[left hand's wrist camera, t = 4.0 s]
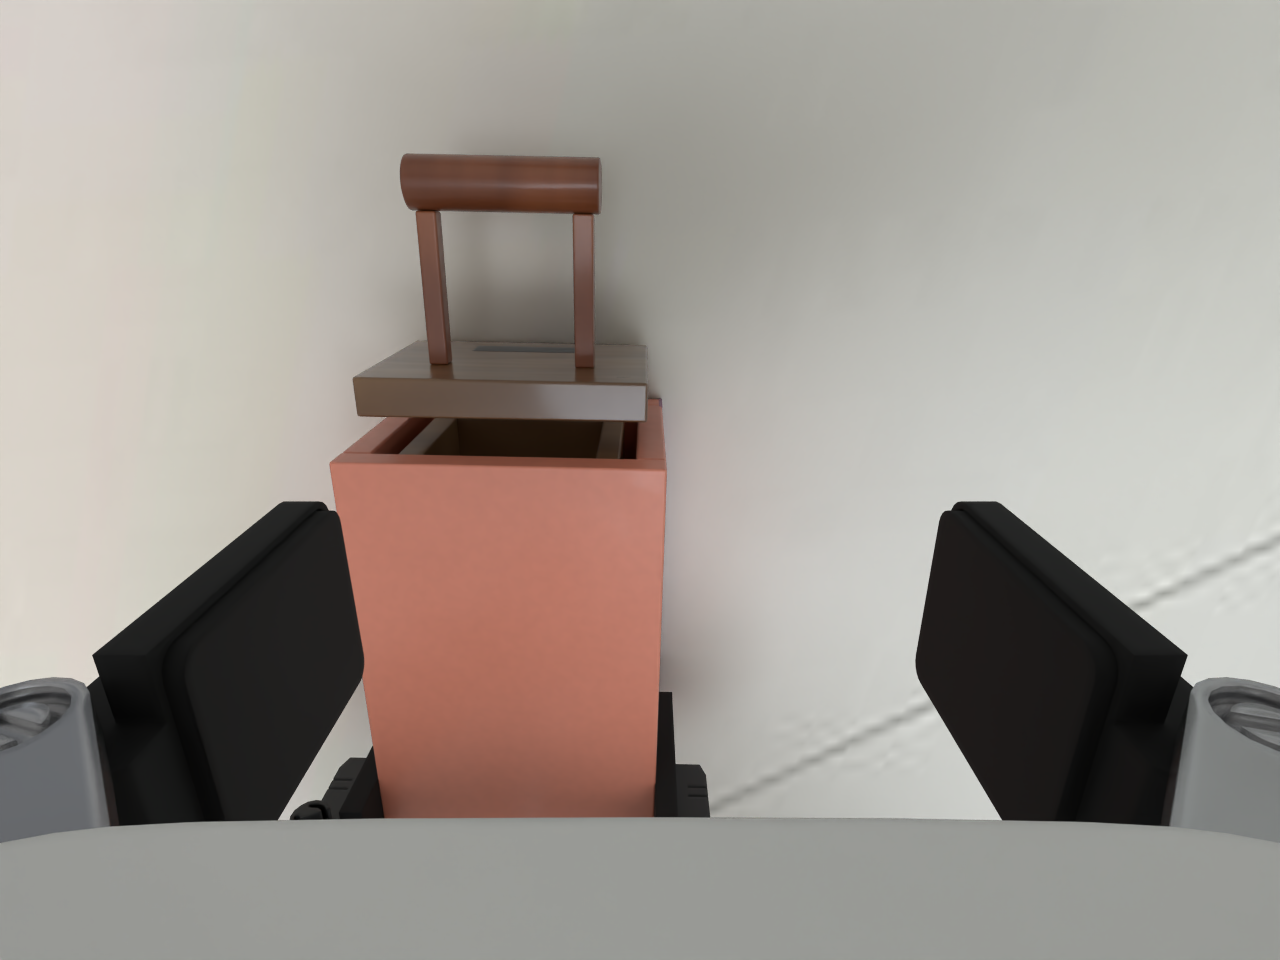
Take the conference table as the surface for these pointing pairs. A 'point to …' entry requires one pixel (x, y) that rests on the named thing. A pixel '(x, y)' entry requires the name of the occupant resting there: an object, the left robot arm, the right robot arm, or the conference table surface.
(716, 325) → the conference table surface
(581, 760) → the open pink storage bin
